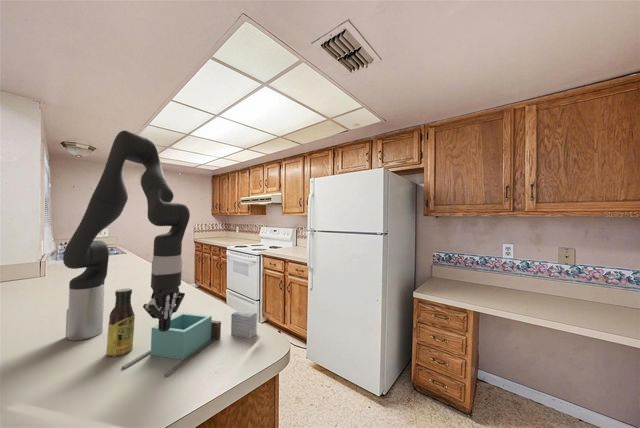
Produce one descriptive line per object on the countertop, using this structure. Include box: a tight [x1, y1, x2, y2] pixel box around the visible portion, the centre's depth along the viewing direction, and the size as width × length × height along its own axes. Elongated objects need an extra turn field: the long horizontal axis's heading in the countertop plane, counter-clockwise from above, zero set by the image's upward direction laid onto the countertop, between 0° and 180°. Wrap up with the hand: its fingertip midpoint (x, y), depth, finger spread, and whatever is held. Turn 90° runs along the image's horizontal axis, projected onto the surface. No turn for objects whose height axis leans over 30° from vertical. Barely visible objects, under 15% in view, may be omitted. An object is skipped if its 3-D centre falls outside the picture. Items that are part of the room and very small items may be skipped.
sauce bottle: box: [105, 288, 136, 358], centre depth 76 cm, size 7×6×20 cm
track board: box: [121, 320, 222, 378], centre depth 77 cm, size 16×22×7 cm
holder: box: [150, 312, 213, 361], centre depth 79 cm, size 11×12×8 cm
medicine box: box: [230, 309, 258, 339], centre depth 89 cm, size 8×4×9 cm, turn 71°
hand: (164, 330), depth 72 cm, fingers closed
